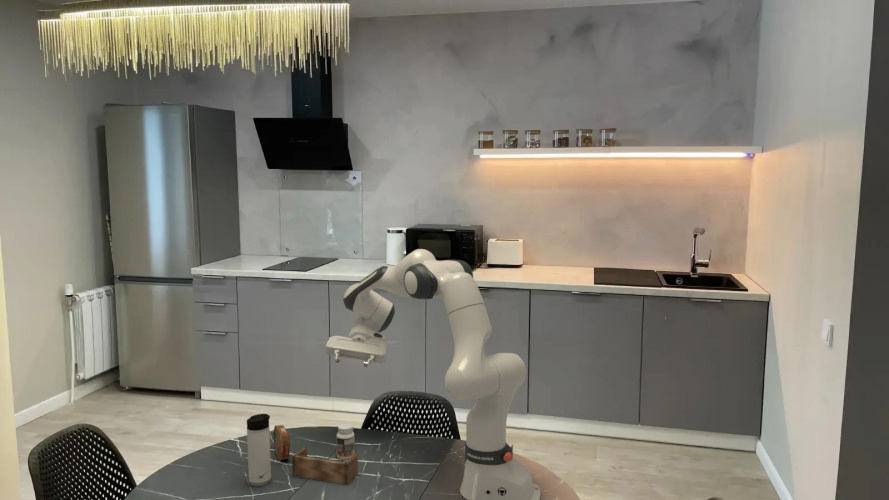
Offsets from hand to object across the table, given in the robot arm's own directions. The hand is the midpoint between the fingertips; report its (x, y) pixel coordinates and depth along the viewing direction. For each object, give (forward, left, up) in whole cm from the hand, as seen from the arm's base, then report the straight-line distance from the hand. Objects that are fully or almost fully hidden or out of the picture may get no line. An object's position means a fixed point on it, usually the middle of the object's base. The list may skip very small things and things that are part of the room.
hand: (351, 363), depth 204 cm
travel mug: (+16, +28, -29) cm, 44 cm away
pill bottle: (0, +5, -29) cm, 30 cm away
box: (0, +18, -29) cm, 34 cm away
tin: (+20, +10, -29) cm, 37 cm away
